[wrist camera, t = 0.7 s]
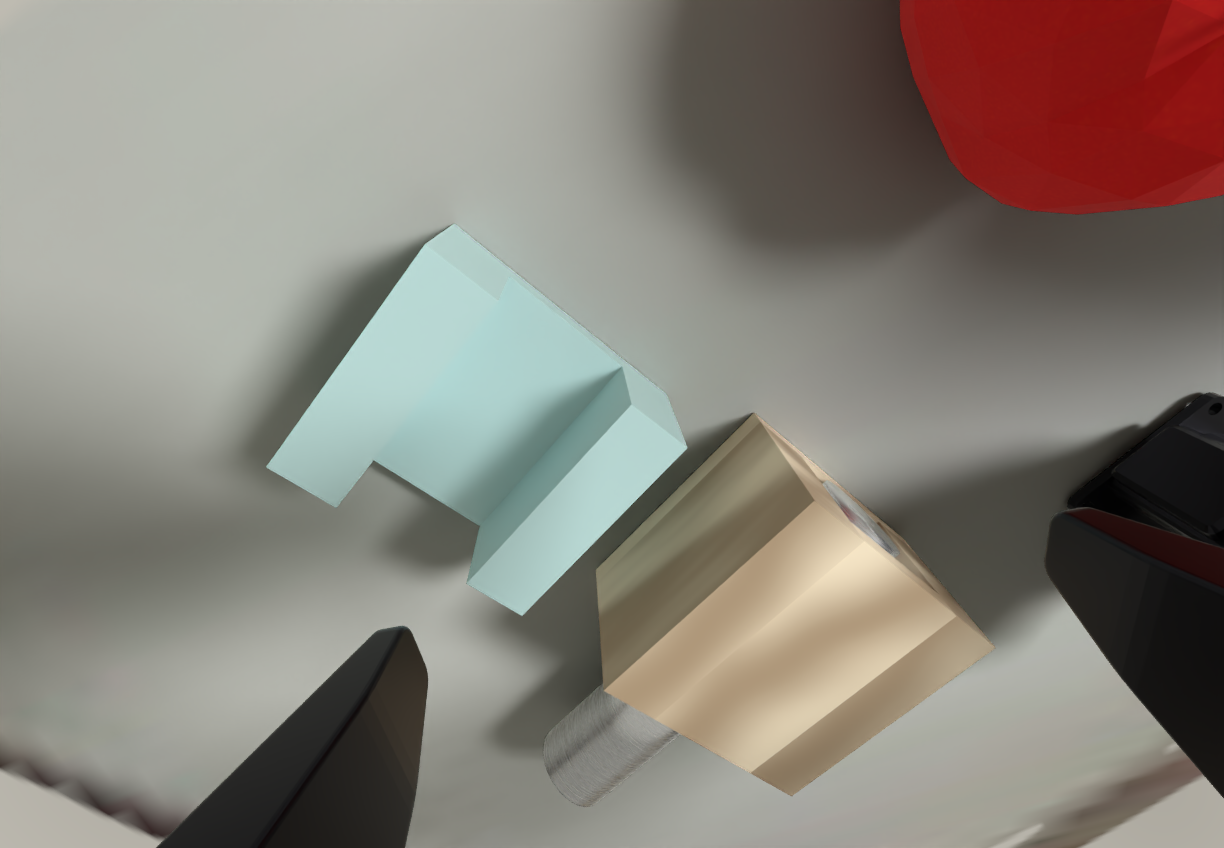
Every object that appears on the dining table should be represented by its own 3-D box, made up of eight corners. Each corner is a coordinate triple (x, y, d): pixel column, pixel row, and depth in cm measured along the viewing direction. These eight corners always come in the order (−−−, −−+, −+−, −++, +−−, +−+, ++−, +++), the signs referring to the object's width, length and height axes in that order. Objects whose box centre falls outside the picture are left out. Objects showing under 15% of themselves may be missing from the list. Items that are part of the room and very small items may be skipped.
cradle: (666, 393, 22) (687, 447, 18) (529, 540, 24) (521, 616, 20) (454, 223, 19) (425, 244, 15) (320, 408, 21) (266, 467, 17)
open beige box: (902, 538, 25) (995, 648, 20) (747, 667, 27) (791, 796, 22) (754, 412, 22) (815, 500, 17) (595, 569, 25) (603, 690, 19)
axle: (812, 465, 22) (854, 519, 19) (868, 512, 23) (916, 570, 20) (543, 714, 27) (542, 790, 24) (602, 742, 28) (608, 818, 25)
